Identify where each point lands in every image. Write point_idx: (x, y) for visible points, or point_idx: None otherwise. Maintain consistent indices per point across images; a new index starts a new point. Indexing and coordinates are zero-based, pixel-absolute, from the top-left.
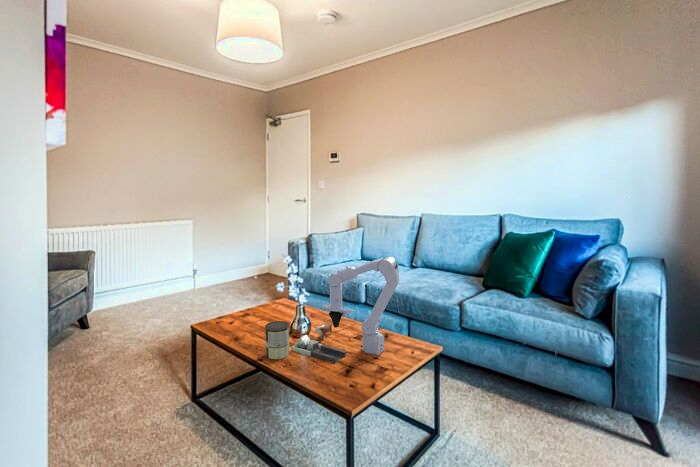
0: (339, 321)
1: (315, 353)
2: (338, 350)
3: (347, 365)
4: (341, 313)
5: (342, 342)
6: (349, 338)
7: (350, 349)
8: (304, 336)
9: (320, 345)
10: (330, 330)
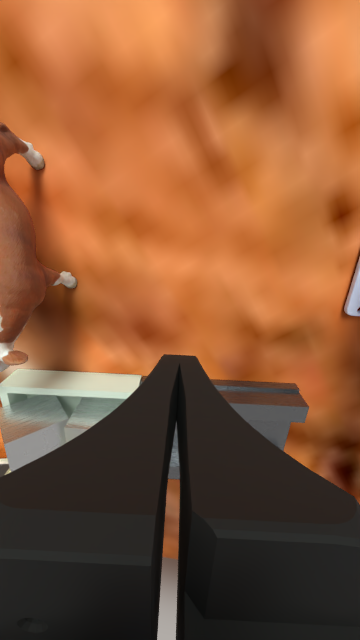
0: (212, 390)
1: (169, 476)
2: (261, 416)
3: (328, 442)
4: (356, 635)
5: (185, 232)
6: (195, 130)
7: (280, 300)
8: (15, 460)
9: (126, 395)
10: (9, 156)
